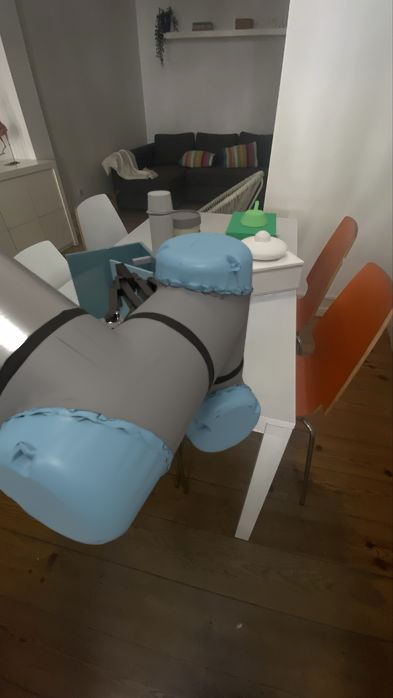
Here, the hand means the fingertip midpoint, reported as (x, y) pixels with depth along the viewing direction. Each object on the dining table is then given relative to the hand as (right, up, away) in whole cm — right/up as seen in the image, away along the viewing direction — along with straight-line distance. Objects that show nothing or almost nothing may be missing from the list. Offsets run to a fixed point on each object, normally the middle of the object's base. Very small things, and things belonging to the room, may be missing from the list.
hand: (120, 270), depth 57 cm
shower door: (-1, -9, +23) cm, 24 cm away
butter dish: (+34, +7, +45) cm, 57 cm away
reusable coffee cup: (+9, +20, +62) cm, 66 cm away
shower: (-4, -10, +24) cm, 26 cm away
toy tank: (+36, +30, +74) cm, 88 cm away
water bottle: (+3, +11, +51) cm, 52 cm away
